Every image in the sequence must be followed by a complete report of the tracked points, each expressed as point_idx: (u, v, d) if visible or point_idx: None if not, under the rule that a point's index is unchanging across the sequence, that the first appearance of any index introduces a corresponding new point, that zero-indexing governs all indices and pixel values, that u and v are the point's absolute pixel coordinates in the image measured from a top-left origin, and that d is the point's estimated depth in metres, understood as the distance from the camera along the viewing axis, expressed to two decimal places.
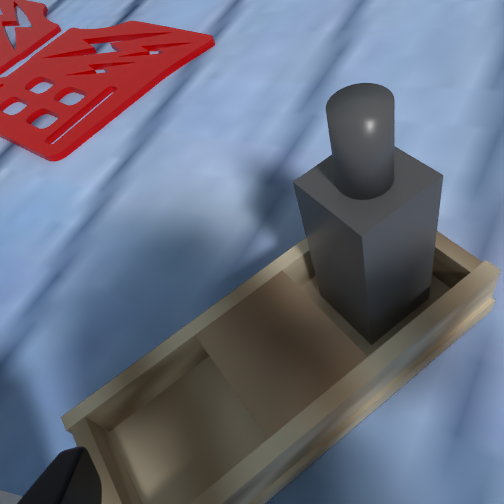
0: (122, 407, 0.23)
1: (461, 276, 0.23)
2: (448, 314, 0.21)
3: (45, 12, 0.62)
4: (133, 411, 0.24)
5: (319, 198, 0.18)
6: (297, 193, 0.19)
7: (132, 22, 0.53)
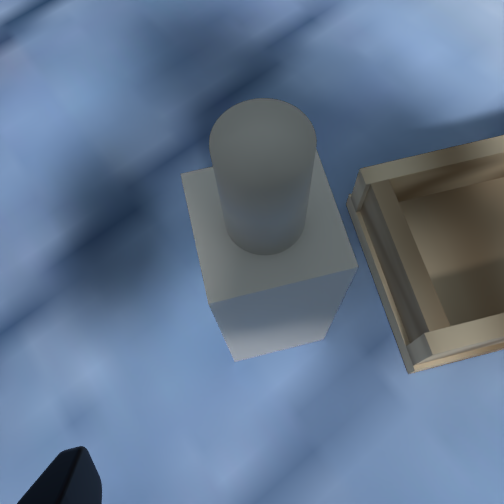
0: (411, 188, 0.21)
1: None
2: None
3: None
4: (409, 198, 0.22)
5: None
6: None
7: None
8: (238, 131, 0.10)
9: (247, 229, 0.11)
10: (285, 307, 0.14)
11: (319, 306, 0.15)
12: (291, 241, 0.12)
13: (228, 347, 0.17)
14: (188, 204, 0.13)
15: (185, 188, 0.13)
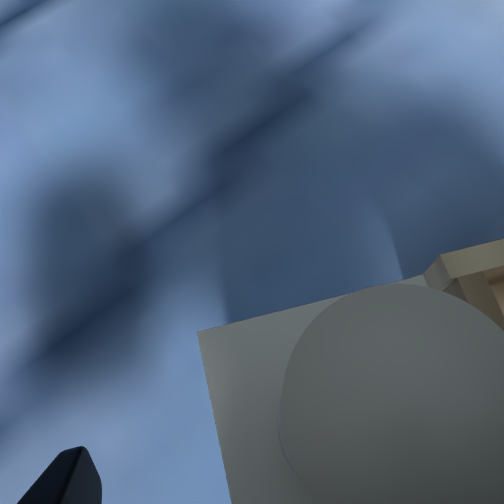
0: None
1: None
2: None
3: None
4: (497, 283, 0.16)
5: None
6: None
7: None
8: (350, 377, 0.04)
9: None
10: None
11: None
12: None
13: None
14: (211, 394, 0.07)
15: (205, 361, 0.08)
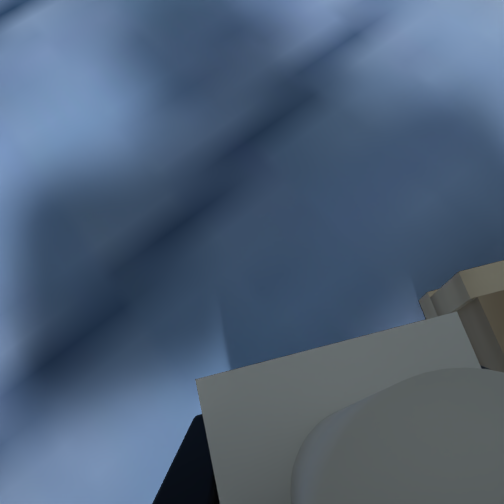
0: None
1: None
2: None
3: None
4: None
5: None
6: None
7: None
8: None
9: None
10: None
11: None
12: None
13: None
14: (213, 455, 0.06)
15: (206, 415, 0.07)
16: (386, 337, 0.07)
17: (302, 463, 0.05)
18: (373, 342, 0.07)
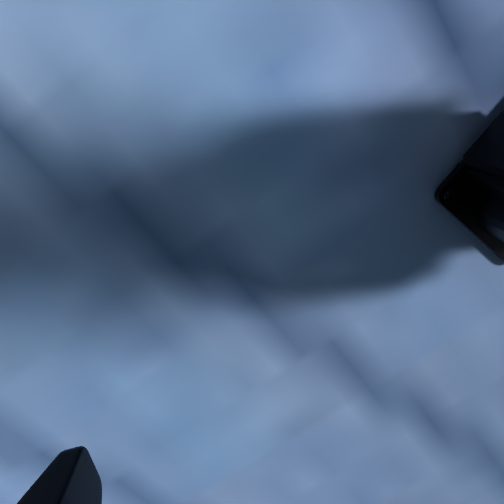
0: None
1: None
2: None
3: None
4: None
5: None
6: None
7: None
8: None
9: None
10: None
11: None
12: None
13: None
14: None
15: None
16: None
17: None
18: None
